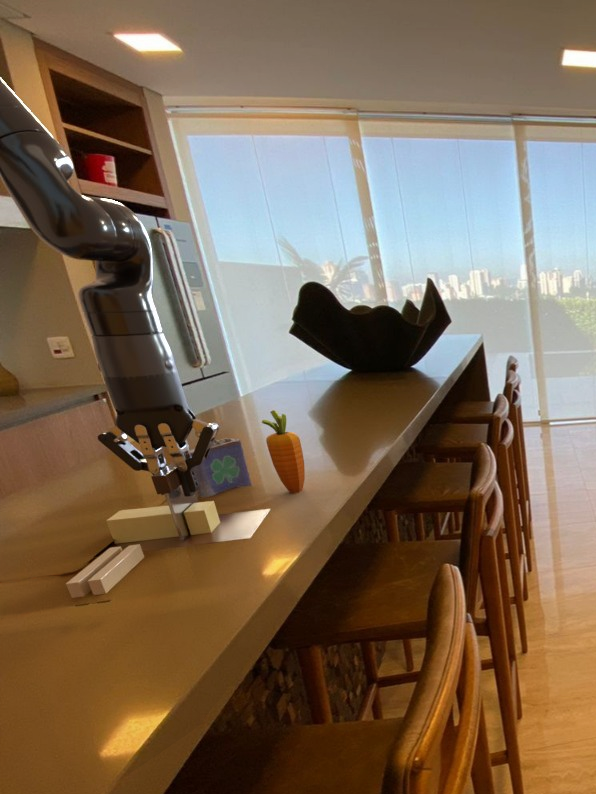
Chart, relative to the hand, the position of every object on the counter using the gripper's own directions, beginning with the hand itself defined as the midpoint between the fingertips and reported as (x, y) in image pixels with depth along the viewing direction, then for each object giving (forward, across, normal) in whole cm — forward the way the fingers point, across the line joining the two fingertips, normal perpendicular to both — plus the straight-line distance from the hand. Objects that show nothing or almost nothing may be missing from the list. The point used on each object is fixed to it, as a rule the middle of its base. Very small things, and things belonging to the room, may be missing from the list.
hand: (181, 495), depth 79 cm
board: (+7, 0, 0) cm, 7 cm away
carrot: (+7, -11, -14) cm, 19 cm away
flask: (+7, +1, -20) cm, 21 cm away
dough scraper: (+5, 0, 0) cm, 5 cm away
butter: (+5, +4, 0) cm, 7 cm away
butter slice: (+5, -2, 0) cm, 6 cm away
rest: (+7, +4, +13) cm, 15 cm away
